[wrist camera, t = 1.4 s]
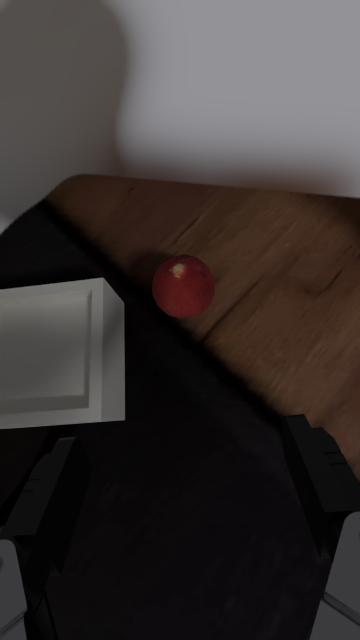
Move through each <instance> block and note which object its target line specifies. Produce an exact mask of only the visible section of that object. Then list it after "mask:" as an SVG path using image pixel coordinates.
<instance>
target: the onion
mask: <svg viewBox="0 0 360 640" xmlns="http://www.w3.org/2000/svg"><path fill="white" fill-rule="evenodd" d="M214 292H215V280H214V277H213V275H212V273H211V271H210V269H209V267H208V266H207V265H206V264H205V263H203V262H202V261H201V260H200V259H198V258H197V257H193V256H189V255H186V254H183V255H179V256H175V257H172V258H170V259H168V260H166V261H164V262H163V263H162V264H161V265H160V266H159V268H158V269H157V270H156V273H155V276H154V278H153V286H152V293H153V297H154V299H155V301H156V303H157V305H158V306H159V307H160V308H161V309H162V310H163V311H164V312H165V313H167V314H168V315H170V316H173V317H176V318H192V317H194V316H196V315H199V314H201V313H202V312H203V311H204V310H205V309H206V308H207V307H208V306H209V305H210V303H211V301H212V298H213V295H214Z"/></svg>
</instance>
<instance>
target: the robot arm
mask: <svg viewBox="0 0 360 640" xmlns="http://www.w3.org/2000/svg"><path fill="white" fill-rule="evenodd" d="M282 421H283V452H284V456H285V460H286V463H287V466H288V469H289V471H290V474H291V477H292V480H293V483H294V486H295V488H296V491H297V494H298V497H299V500H300V503H301V505H302V508H303V511H304V514H305V517H306V519H307V522H308V525H309V528H310V531H311V534H312V536H313V539H314V542H315V545H316V548H317V551H318V553H319V556H320V559H324V558H331V561H332V563H333V564H332V568H331V572H330V575H329V579H328V583H327V586H326V590H325V593H324V595H323V596H322V599H321V602H320V605H319V608H318V612H317V616H316V619H315V623H314V626H313V630H312V634H311V637H310V640H360V484H359V482H358V480H357V478H356V477H355V475H354V473H353V471H352V470H351V468H350V466H349V465H348V464H347V461H346V459H345V457H344V455H343V454H342V453H341V450H340V448H339V447H338V445H337V443H336V441H335V440H334V438H333V437H332V436H331V435H330V434H329V433H327V432H326V431H325V430H324V429H323V428H322V427H319V428H311V427H310V425H309V423H308V421H307V419H306V417H305V415H304V414H299V415H290V416H283V420H282ZM90 477H91V463H90V460H89V458H88V455H87V453H86V451H85V448H84V446H83V443H82V441H81V439H80V438H79V437H71V438H61V439H59V440H58V441H57V442H56V444H55V446H54V448H53V450H52V452H51V454H45V455H44V457H43V458H42V459H41V460H40V461H39V462H38V463H37V464H36V465H35V467H34V469H33V471H32V473H31V475H30V477H29V479H28V482H27V483H26V485H25V487H24V489H23V493H21V495H20V497H19V499H18V500H17V502H16V504H15V506H14V508H13V510H12V512H11V514H10V516H9V518H8V520H7V522H6V524H5V526H4V528H3V530H2V532H1V534H0V640H59V639H58V636H57V632H56V628H55V624H54V620H53V616H52V613H51V609H50V605H49V601H48V597H47V593H46V590H45V585H46V582H47V579H48V576H53V575H61V573H62V569H63V566H64V563H65V560H66V556H67V553H68V550H69V547H70V543H71V540H72V537H73V533H74V530H75V527H76V524H77V520H78V517H79V514H80V510H81V507H82V504H83V501H84V497H85V494H86V491H87V487H88V484H89V481H90Z"/></svg>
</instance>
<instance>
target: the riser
mask: <svg viewBox="0 0 360 640" xmlns="http://www.w3.org/2000/svg"><path fill="white" fill-rule="evenodd" d="M118 420H125V365H124V302H123V301H122V300H121V299H120V298H119V296H118V295H117V294H116V293H115V291H114V290H113V289H112V288H111V287H110V285H109V284H108V283H107V282H106V280H105V279H104V278H97V279H88V280H80V281H71V282H62V283H54V284H45V285H37V286H28V287H20V288H11V289H3V290H0V429H7V428H20V427H34V426H48V425H62V424H76V423H90V422H104V421H118Z"/></svg>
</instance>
